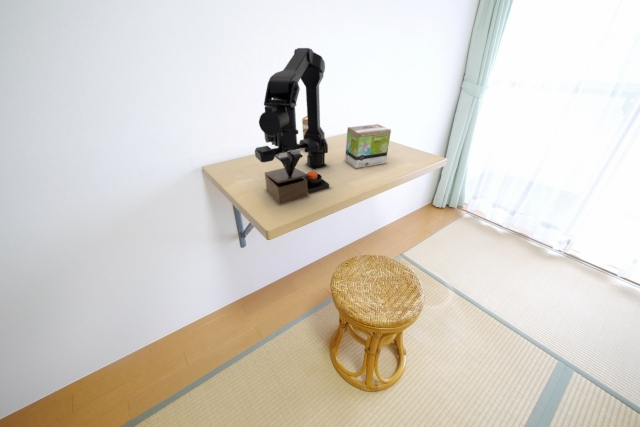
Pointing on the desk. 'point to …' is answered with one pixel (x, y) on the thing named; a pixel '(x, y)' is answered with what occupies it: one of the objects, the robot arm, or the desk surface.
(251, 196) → the desk surface
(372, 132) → the tea box
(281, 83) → the robot arm
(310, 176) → the button
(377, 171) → the desk surface
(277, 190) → the open wooden box
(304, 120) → the candy box
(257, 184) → the desk surface
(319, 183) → the control block
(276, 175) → the wooden box lid
